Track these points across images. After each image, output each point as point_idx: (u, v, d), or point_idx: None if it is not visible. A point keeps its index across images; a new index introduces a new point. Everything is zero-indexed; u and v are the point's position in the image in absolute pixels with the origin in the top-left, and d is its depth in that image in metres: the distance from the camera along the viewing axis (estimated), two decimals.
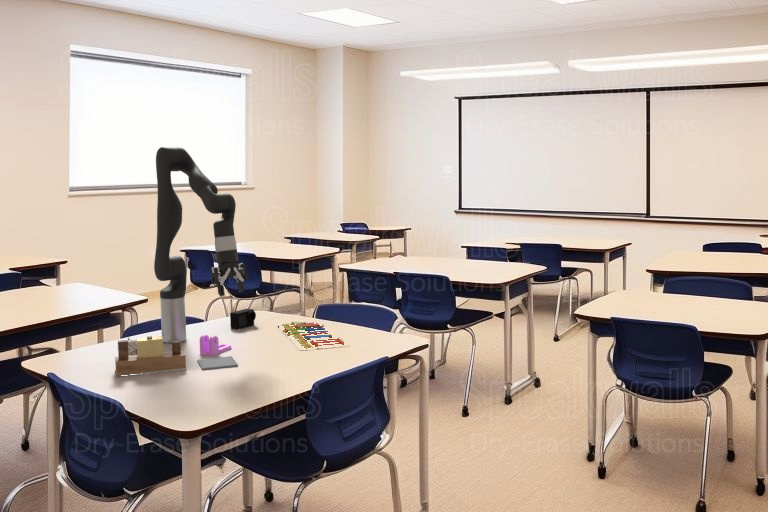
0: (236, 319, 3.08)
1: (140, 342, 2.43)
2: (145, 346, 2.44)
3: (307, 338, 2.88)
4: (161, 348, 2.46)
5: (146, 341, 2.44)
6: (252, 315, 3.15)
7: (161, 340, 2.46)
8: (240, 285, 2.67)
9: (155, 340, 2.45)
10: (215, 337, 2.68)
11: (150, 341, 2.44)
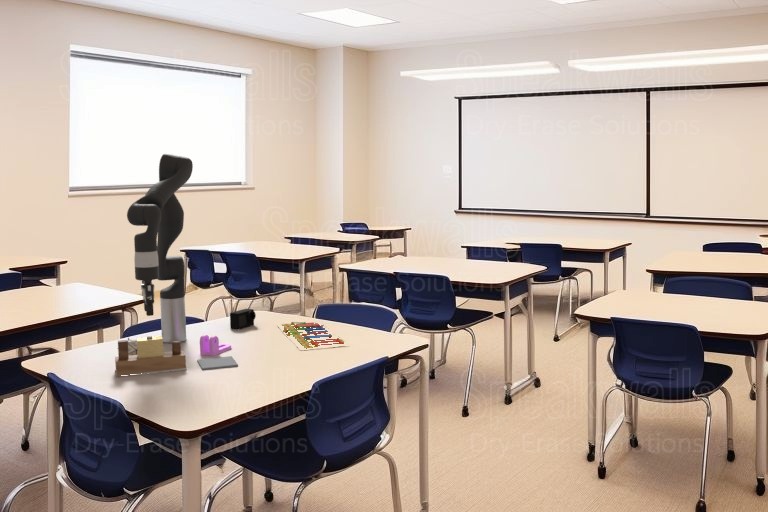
0: (236, 319, 3.08)
1: (140, 342, 2.43)
2: (145, 346, 2.44)
3: (307, 338, 2.88)
4: (161, 348, 2.46)
5: (146, 341, 2.44)
6: (252, 315, 3.15)
7: (161, 340, 2.46)
8: None
9: (155, 340, 2.45)
10: (215, 337, 2.68)
11: (150, 341, 2.44)
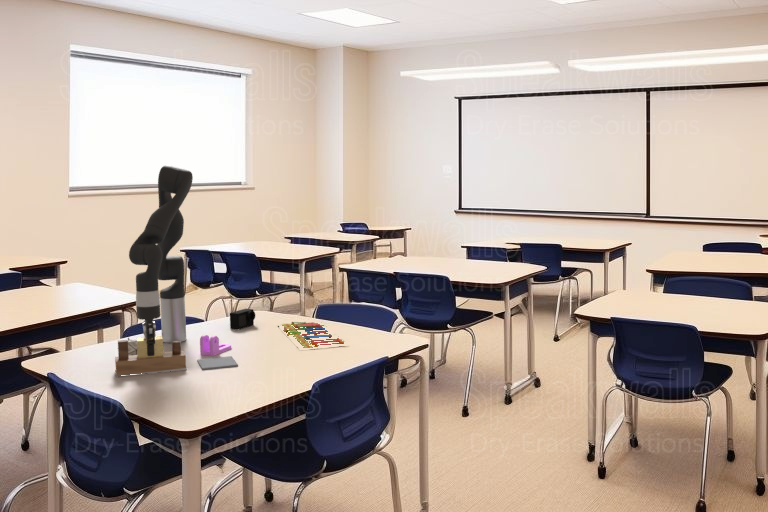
0: (236, 319, 3.08)
1: (140, 342, 2.43)
2: (145, 346, 2.44)
3: (307, 338, 2.88)
4: (161, 348, 2.46)
5: (146, 341, 2.44)
6: (251, 315, 3.15)
7: (161, 340, 2.46)
8: None
9: (155, 340, 2.45)
10: (215, 337, 2.68)
11: None
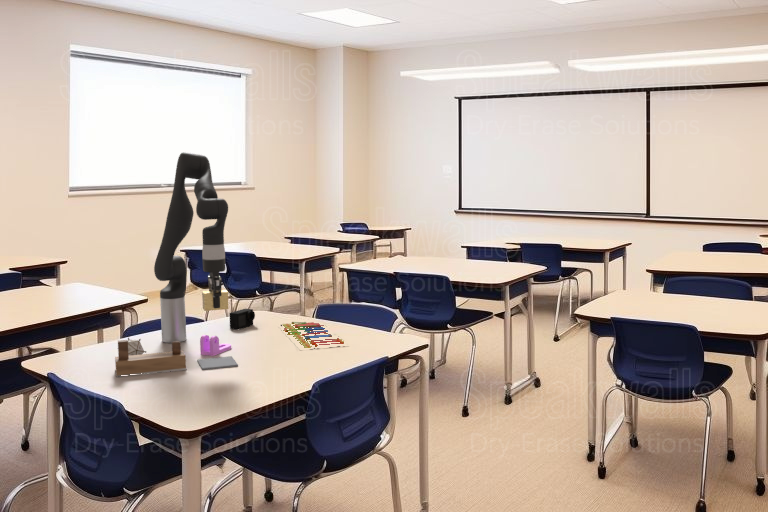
0: (235, 319, 3.08)
1: (206, 294, 2.50)
2: (211, 298, 2.50)
3: (307, 338, 2.88)
4: (226, 301, 2.52)
5: (212, 293, 2.50)
6: (251, 315, 3.15)
7: (226, 293, 2.52)
8: None
9: (221, 293, 2.51)
10: (216, 337, 2.68)
11: None
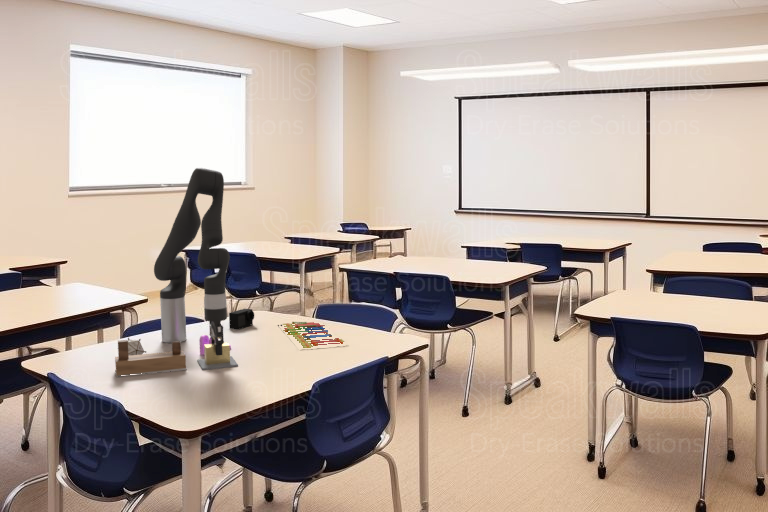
0: (235, 319, 3.08)
1: (208, 348, 2.52)
2: (213, 352, 2.53)
3: (307, 338, 2.88)
4: (228, 354, 2.55)
5: (214, 347, 2.53)
6: (250, 315, 3.15)
7: (228, 346, 2.55)
8: None
9: (222, 346, 2.54)
10: None
11: None
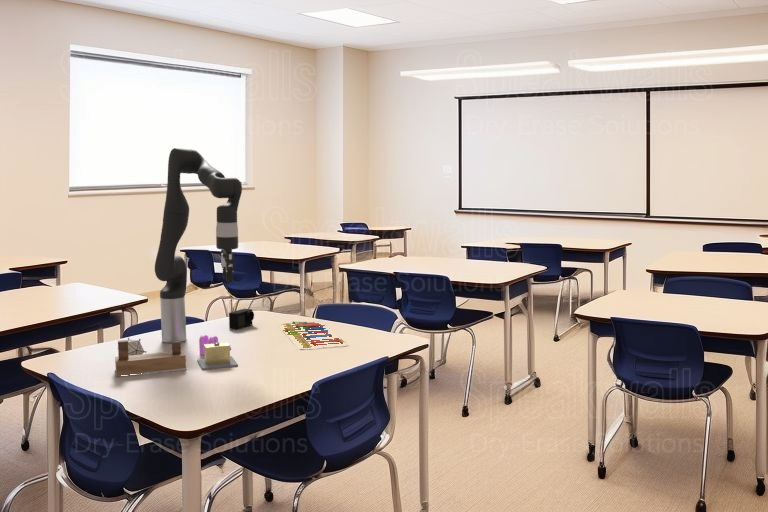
0: (235, 319, 3.08)
1: (208, 348, 2.52)
2: (213, 352, 2.53)
3: (307, 337, 2.88)
4: (228, 354, 2.55)
5: (214, 347, 2.53)
6: (250, 315, 3.15)
7: (228, 346, 2.55)
8: None
9: (222, 346, 2.54)
10: (215, 337, 2.67)
11: (218, 347, 2.53)
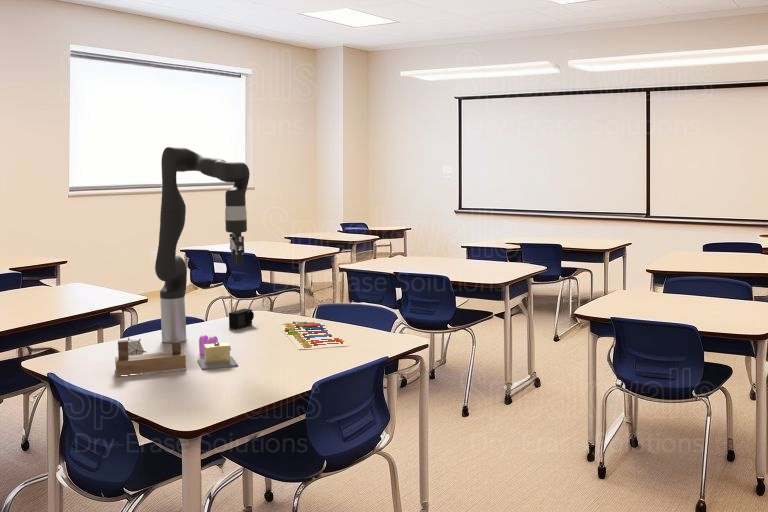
0: (235, 319, 3.08)
1: (208, 348, 2.52)
2: (213, 352, 2.53)
3: (307, 337, 2.88)
4: (228, 354, 2.55)
5: (214, 347, 2.53)
6: (250, 315, 3.15)
7: (228, 346, 2.55)
8: None
9: (222, 346, 2.54)
10: (215, 337, 2.67)
11: (218, 347, 2.53)
